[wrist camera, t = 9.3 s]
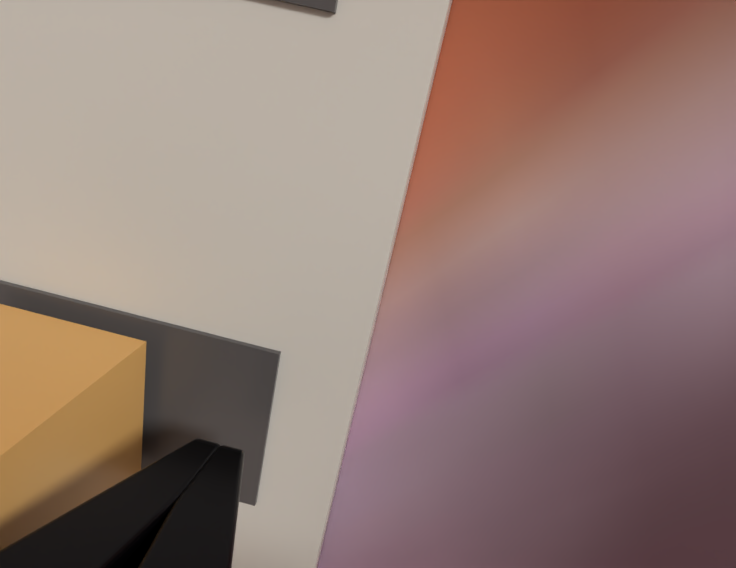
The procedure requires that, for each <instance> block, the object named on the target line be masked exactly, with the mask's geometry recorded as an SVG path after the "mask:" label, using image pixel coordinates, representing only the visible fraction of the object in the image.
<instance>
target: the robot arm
mask: <svg viewBox="0 0 736 568" xmlns="http://www.w3.org/2000/svg"><path fill="white" fill-rule="evenodd" d="M243 463H244V451H243V450H240V449H237V448H233V447H229V446H226V445H221V446H220V445H219V444H218V443H215V442H211V441H207V440H203V439H195V440H192V441H190V442H189V443H187V444H185V445H183V446H182V447H180V448H178V449H176V450H175V451H173V452H171V453H169V454H168V455H166V456H164V457H162V458H161V459H159V460H157V461H155V462H154V463H152V464H150V465H148V466H147V467H145V468H143V469H141V470H140V471H138V472H136V473H134V474H133V475H131V476H129V477H127V478H126V479H124V480H122V481H120V482H119V483H117V484H115V485H113V486H112V487H110V488H108V489H106V490H105V491H103V492H101V493H99V494H98V495H96V496H94V497H92V498H91V499H89V500H87V501H85V502H84V503H82V504H80V505H78V506H77V507H75V508H73V509H71V510H70V511H68V512H66V513H64V514H63V515H61V516H59V517H57V518H56V519H54V520H52V521H50V522H49V523H47V524H45V525H43V526H42V527H40V528H38V529H36V530H35V531H33V532H31V533H29V534H28V535H26V536H24V537H22V538H21V539H19V540H17V541H15V542H14V543H12V544H10V545H8V546H7V547H5V548H3V549H1V550H0V568H232V559H233V550H234V542H235V533H236V524H237V516H238V507H239V498H240V489H241V481H242V472H243Z"/></svg>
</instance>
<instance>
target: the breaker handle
mask: <svg viewBox="0 0 736 568" xmlns="http://www.w3.org/2000/svg"><path fill="white" fill-rule="evenodd" d="M146 342H147V341H143V340H139V339H135V338H131V337H127V336H123V335H119V334H115V333H112V332H108V331H104V330H100V329H96V328H92V327H88V326H84V325H81V324H77V323H73V322H69V321H65V320H61V319H57V318H53V317H50V316H46V315H42V314H38V313H34V312H30V311H26V310H22V309H19V308H15V307H11V306H7V305H3V304H0V550H1V549H3V548H5V547H7V546H8V545H10V544H12V543H14V542H15V541H17V540H19V539H21V538H22V537H24V536H26V535H28V534H29V533H31V532H33V531H35V530H36V529H38V528H40V527H42V526H43V525H45V524H47V523H49V522H50V521H52V520H54V519H56V518H57V517H59V516H61V515H63V514H64V513H66V512H68V511H70V510H71V509H73V508H75V507H77V506H78V505H80V504H82V503H84V502H85V501H87V500H89V499H91V498H92V497H94V496H96V495H98V494H99V493H101V492H103V491H105V490H106V489H108V488H110V487H112V486H113V485H115V484H117V483H119V482H120V481H122V480H124V479H126V478H127V477H129V476H131V475H133V474H134V473H136V472H138V471H140V470H141V459H142V436H143V412H144V389H145V365H146Z"/></svg>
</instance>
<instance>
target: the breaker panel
mask: <svg viewBox="0 0 736 568" xmlns="http://www.w3.org/2000/svg"><path fill="white" fill-rule="evenodd" d="M451 5H452V0H0V304H3V305H7V306H11V307H15V308H19V309H22V310H26V311H30V312H34V313H38V314H42V315H46V316H50V317H53V318H57V319H61V320H65V321H69V322H73V323H77V324H81V325H84V326H88V327H92V328H96V329H100V330H104V331H108V332H112V333H115V334H119V335H123V336H127V337H131V338H135V339H139V340H143V341H147V342H146V365H145V389H144V412H143V436H142V459H141V469H143V468H145V467H147V466H148V465H150V464H152V463H154V462H155V461H157V460H159V459H161V458H162V457H164V456H166V455H168V454H169V453H171V452H173V451H175V450H176V449H178V448H180V447H182V446H183V445H185V444H187V443H189V442H190V441H192V440H195V439H203V440H207V441H211V442H215V443H218V444H219V445H220V446H221V445H226V446H229V447H233V448H237V449H240V450H243V451H244V463H243V472H242V481H241V489H240V498H239V507H238V516H237V524H236V533H235V542H234V550H233V559H232V568H317V565H318V561H319V556H320V552H321V548H322V544H323V540H324V535H325V531H326V527H327V523H328V519H329V515H330V510H331V506H332V502H333V498H334V494H335V490H336V485H337V481H338V477H339V473H340V469H341V464H342V460H343V456H344V452H345V448H346V444H347V439H348V435H349V431H350V427H351V423H352V418H353V414H354V410H355V406H356V402H357V398H358V393H359V389H360V385H361V381H362V377H363V372H364V368H365V364H366V360H367V356H368V352H369V347H370V343H371V339H372V335H373V331H374V326H375V322H376V318H377V314H378V310H379V306H380V301H381V297H382V293H383V289H384V285H385V281H386V276H387V272H388V268H389V264H390V260H391V255H392V251H393V247H394V243H395V239H396V235H397V230H398V226H399V222H400V218H401V214H402V209H403V205H404V201H405V197H406V193H407V189H408V184H409V180H410V176H411V172H412V168H413V163H414V159H415V155H416V151H417V147H418V143H419V138H420V134H421V130H422V126H423V122H424V117H425V113H426V109H427V105H428V101H429V97H430V92H431V88H432V84H433V80H434V76H435V71H436V67H437V63H438V59H439V55H440V51H441V46H442V42H443V38H444V34H445V30H446V26H447V21H448V17H449V13H450V9H451Z"/></svg>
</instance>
